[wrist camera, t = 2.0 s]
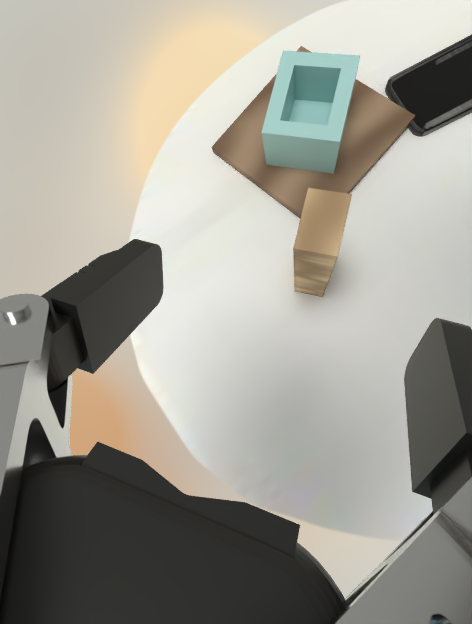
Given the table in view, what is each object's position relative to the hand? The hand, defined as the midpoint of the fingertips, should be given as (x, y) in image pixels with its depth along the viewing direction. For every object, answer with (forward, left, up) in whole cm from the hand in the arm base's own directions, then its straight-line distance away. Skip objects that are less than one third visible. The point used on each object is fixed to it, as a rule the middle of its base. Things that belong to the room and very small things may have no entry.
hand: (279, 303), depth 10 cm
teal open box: (+15, -19, -27) cm, 36 cm away
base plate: (+15, -19, -27) cm, 36 cm away
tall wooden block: (+4, -7, -27) cm, 28 cm away
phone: (+5, -34, -27) cm, 44 cm away
